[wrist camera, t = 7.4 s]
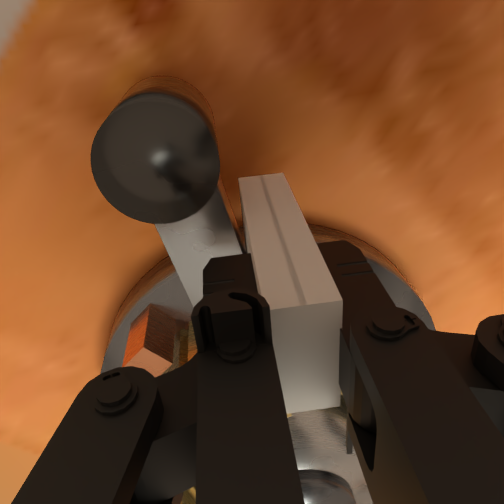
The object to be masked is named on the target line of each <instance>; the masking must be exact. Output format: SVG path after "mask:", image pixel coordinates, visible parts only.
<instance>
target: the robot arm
mask: <svg viewBox="0 0 504 504" xmlns="http://www.w3.org/2000/svg"><path fill="white" fill-rule="evenodd" d="M238 182H239V191H240V201H241V210H242V219H243V228H244V238H245V247H246V254H238V255H230V256H222V257H214V258H211V259H210V260H209V262H208V263H207V265H206V266H205V268H204V269H203V298H202V299H201V300H200V301H199V302H198V303H197V304H196V305H195V306H194V308H193V311H192V314H191V321H192V326H193V331H194V336H195V341H196V346H197V351H198V352H197V353H196V354H195V355H194V356H193V357H192V358H191V359H190V360H189V361H188V362H186V363H185V364H184V365H182V366H180V367H178V368H176V369H174V370H172V371H170V372H167V373H165V374H162V375H159V376H157V377H154V376H153V375H152V374H151V373H149V372H148V371H147V370H145V369H143V368H138V367H134V366H127V367H117V368H114V369H112V370H109V371H106V372H104V373H101V374H100V375H98V376H97V377H95V378H94V379H92V380H91V381H89V382H88V383H87V384H86V386H85V387H84V388H83V389H82V390H81V391H80V393H79V394H78V395H77V397H76V398H75V400H74V402H73V403H72V405H71V407H70V408H69V410H68V412H67V413H66V415H65V416H64V418H63V420H62V421H61V423H60V425H59V426H58V428H57V430H56V431H55V433H54V434H53V436H52V438H51V439H50V441H49V443H48V444H47V446H46V448H45V449H44V451H43V452H42V454H41V456H40V457H39V459H38V461H37V462H36V464H35V466H34V467H33V469H32V470H31V472H30V474H29V475H28V477H27V479H26V481H25V482H24V484H23V485H22V487H21V488H20V490H19V492H18V493H17V495H16V497H15V498H14V500H13V502H12V503H11V504H181V501H182V498H183V492H184V491H186V490H188V489H190V488H192V487H194V486H196V501H195V504H305V502H304V497H303V492H302V487H301V482H300V477H299V472H298V467H297V462H296V457H295V452H294V447H293V442H292V437H291V432H290V427H289V422H288V417H287V414H289V413H296V412H303V411H310V410H317V409H324V408H331V407H338V406H340V395H341V391H342V394H343V397H344V400H345V403H346V406H347V425H346V451H347V454H352V450H353V446H354V449H355V452H356V455H357V458H358V461H359V464H360V467H361V470H362V473H363V476H364V478H365V481H366V484H367V487H368V490H369V493H370V496H371V499H372V502H373V504H504V314H501V315H495V316H489V317H488V318H486V319H484V320H483V321H481V322H480V323H479V325H478V328H477V330H476V334H475V335H468V334H458V333H447V332H440V331H434V330H430V329H428V328H427V326H426V325H425V323H424V322H423V321H422V320H421V319H420V318H419V317H418V316H417V315H416V314H414V313H412V312H410V311H408V310H406V309H403V308H399V307H396V305H395V304H394V302H393V300H392V299H391V297H390V296H389V294H388V293H387V291H386V289H385V288H384V286H383V285H382V283H381V282H380V280H379V278H378V277H377V275H376V274H375V273H374V272H373V269H372V267H371V266H370V264H369V263H367V259H366V258H365V256H364V255H363V253H362V252H361V250H360V249H359V248H358V247H356V246H354V245H353V244H351V243H350V242H348V241H346V240H340V241H332V242H323V243H316V242H315V240H314V237H313V235H312V233H311V231H310V229H309V227H308V225H307V223H306V220H305V218H304V216H303V214H302V212H301V210H300V208H299V205H298V203H297V201H296V199H295V197H294V195H293V193H292V191H291V188H290V186H289V184H288V182H287V180H286V178H285V176H284V173H275V174H266V175H258V176H249V177H241V178H238Z"/></svg>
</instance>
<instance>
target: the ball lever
mask: <svg viewBox="0 0 504 504" xmlns="http://www.w3.org/2000/svg"><path fill="white" fill-rule="evenodd" d="M91 168H92V173H93V176H94V179H95V182H96V184H97V186H98V188H99V190H100V191H101V193H102V194H103V196H104V197H105V198H106V199H107V201H108V202H109V203H110V204H111V205H112V206H114V207H115V208H116V209H117V210H119V211H120V212H122V213H123V214H125V215H127V216H129V217H131V218H133V219H136V220H139V221H142V222H146V223H153V224H155V226H156V228H157V231H158V233H159V235H160V237H161V239H162V241H163V243H164V245H165V248H166V250H167V252H168V254H169V256H170V258H171V260H172V263H173V265H174V267H175V269H176V271H177V273H178V275H179V277H180V280H181V282H182V284H183V286H184V288H185V290H186V292H187V294H188V297H189V299H190V301H191V303H192V305H193V307H194V306H195V305H196V304H197V303H198V302H199V301H200V300H201V299H202V298H203V269H204V268H205V266H206V265H207V263H208V262H209V260H210V259H211V258H214V257H222V256H230V255H238V254H246V247H245V244H244V242H243V239H242V236H241V233H240V230H239V227H238V225H237V222H236V219H235V216H234V213H233V211H232V208H231V205H230V202H229V199H228V197H227V194H226V191H225V188H224V185H223V182H222V180H221V177H220V160H219V153H218V145H217V138H216V131H215V123H214V117H213V113H212V110H211V108H210V106H209V104H208V102H207V100H206V99H205V98H204V96H203V95H202V94H201V93H200V92H199V91H198V90H197V89H196V88H195V87H193V86H192V85H191V84H189V83H187V82H185V81H183V80H181V79H178V78H175V77H170V76H155V77H150V78H147V79H144V80H142V81H140V82H138V83H137V84H135V85H134V86H133V87H131V88H130V89H129V90H128V92H127V93H126V94H125V95H124V96H123V98H122V99H121V100H120V102H119V103H118V104H117V106H116V107H115V108H114V109H113V111H112V112H111V113H110V115H109V116H108V117H107V119H106V120H105V121H104V123H103V124H102V125H101V127H100V128H99V130H98V131H97V134H96V136H95V138H94V141H93V144H92V149H91ZM197 352H198V351H197V346H196V341H195V336H194V331H193V326H192V321H190V322H189V331H188V330H185V329H182V328H180V330H179V332H178V333H177V335H176V337H175V339H174V352H173V364H172V365H171V366H170V367H169V368H168V369H167V370H166V371H164V372H163V373H162V374H165V373H167V372H170V371H172V370H174V369H176V368H178V367H180V366H182V365H184V364H185V363H186V362H188V361H189V360H190V359H191V358H192V357H193V356H194V355H195V354H196V353H197ZM162 374H161V375H162ZM341 395H343V394H342V391H341ZM291 416H292V414H291V413H289V414H287V417H291ZM195 501H196V486H194V487H192V488H190V489H188V490H186V491H184V492H183V498H182V501H181V504H195Z"/></svg>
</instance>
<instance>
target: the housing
mask: <svg viewBox="0 0 504 504" xmlns="http://www.w3.org/2000/svg"><path fill="white" fill-rule="evenodd" d="M307 225H308V227H309V229H310V231H311V233H312V235H313V237H314V240H315V242H316V243H323V242H332V241H340V240H346V241H348V242H350V243H351V244H353V245H354V246H356V247H358V248H359V249H360V250H361V252H362V253H363V255H364V256H365V258H366V259H367V263H369V264H370V266H371V267H372V269H373V272H374V273H375V274H376V275H377V277H378V278H379V280H380V282H381V283H382V285H383V286H384V288H385V289H386V291H387V293H388V294H389V296H390V297H391V299H392V300H393V302H394V304H395V305H396V307H399V308H403V309H406V310H408V311H410V312H412V313H414V314H416V315H417V316H418V317H419V318H420V319H421V320H422V321H423V322H424V323H425V325H426V326H427V328H428V329H430V330H434V331H436V330H435V327H434V324H433V321H432V318H431V316H430V314H429V313H428V311H427V309H426V307H425V306H424V304H423V302H422V301H421V300H420V298H419V297H418V295H417V294H416V293H415V291H414V290H413V289H412V287H411V286H410V285H409V283H408V282H407V281H406V279H405V278H404V277H403V275H402V274H401V273H400V272H399V271H398V269H397V268H396V267H395V266H394V265H393V263H392V262H391V261H389V260H388V259H387V258H386V257H385V256H384V255H382V254H381V253H380V252H379V251H378V250H376V249H375V248H373V247H371V246H370V245H368V244H366V243H365V242H363V241H361V240H360V239H357V238H355V237H352V236H350V235H348V234H345V233H343V232H341V231H337V230H333V229H329V228H326V227H322V226H317V225H310V224H307ZM239 230H240V233H241V236H242V239H243V242H244V244H245V238H244V228H243V226H240V227H239ZM193 308H194V307H193V305H192V303H191V301H190V299H189V297H188V294H187V292H186V290H185V288H184V286H183V284H182V282H181V280H180V277H179V275H178V273H177V271H176V269H175V267H174V265H173V263H172V260H171V258H170V256H168V257H166V258H165V259H163V260H162V261H160V262H159V263H158V264H157V265H156V266H155V267H154V268H152V269H151V270H150V271H149V272H148V273H147V274H145V275H144V276H143V277H142V279H141V280H140V281H139V282H138V283H137V284H136V286H135V287H134V288H133V289H132V290H131V291H130V293H129V294H128V296H127V298H126V299H125V301H124V302H123V304H122V305H121V307H120V309H119V311H118V314H117V316H116V318H115V321H114V323H113V326H112V330H111V334H110V338H109V341H108V345H107V349H106V353H105V357H104V361H103V365H102V369H101V373H104V372H106V371H109V370H112V369H114V368H117V367H127V366H134V367H138V368H143V369H145V370H147V371H148V372H149V373H151V374H152V375H153V376H154V377H157V376H159V375H161V374H162V373H163V372H164V371H166V370H167V369H168V368H169V367H170V366H171V365H172V364H173V352H174V339H175V337H176V335H177V333H178V332H179V330H180V328H182V329H185V330H188V331H189V322H190V321H191V314H192V311H193ZM291 414H292V416H291V417H288V422H289V427H290V432H291V437H292V442H293V447H294V452H295V457H296V462H297V467H298V472H299V477H300V482H301V487H302V492H303V497H304V502H305V504H373V502H372V499H371V496H370V493H369V490H368V487H367V484H366V481H365V478H364V476H363V473H362V470H361V467H360V464H359V461H358V458H357V455H356V452H355V449H354V446H353V450H352V454H347V451H346V425H347V406H346V403H345V400H344V397H343V395H340V406H338V407H331V408H324V409H317V410H310V411H303V412H296V413H291Z"/></svg>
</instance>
